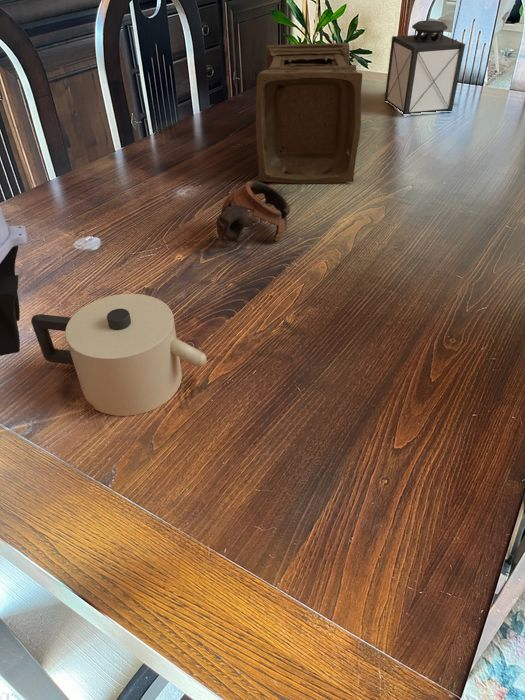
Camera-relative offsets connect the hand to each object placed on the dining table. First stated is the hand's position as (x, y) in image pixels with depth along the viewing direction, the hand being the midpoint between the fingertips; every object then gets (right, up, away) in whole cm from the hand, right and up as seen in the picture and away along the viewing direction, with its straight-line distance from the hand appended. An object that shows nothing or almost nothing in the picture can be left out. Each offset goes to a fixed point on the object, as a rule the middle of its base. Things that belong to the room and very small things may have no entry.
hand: (7, 336), depth 47 cm
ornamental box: (+30, +38, +59) cm, 76 cm away
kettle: (+9, -4, +7) cm, 12 cm away
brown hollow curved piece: (+20, +15, +32) cm, 40 cm away
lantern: (+56, +52, +76) cm, 108 cm away
